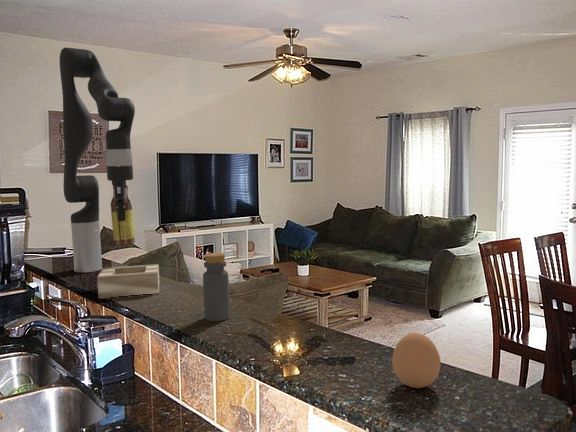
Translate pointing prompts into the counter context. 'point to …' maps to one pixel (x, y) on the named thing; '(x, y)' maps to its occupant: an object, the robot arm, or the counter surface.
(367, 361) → the counter surface
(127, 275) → the dock block
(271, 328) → the counter surface
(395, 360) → the egg
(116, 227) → the sauce bottle
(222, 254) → the bottle
